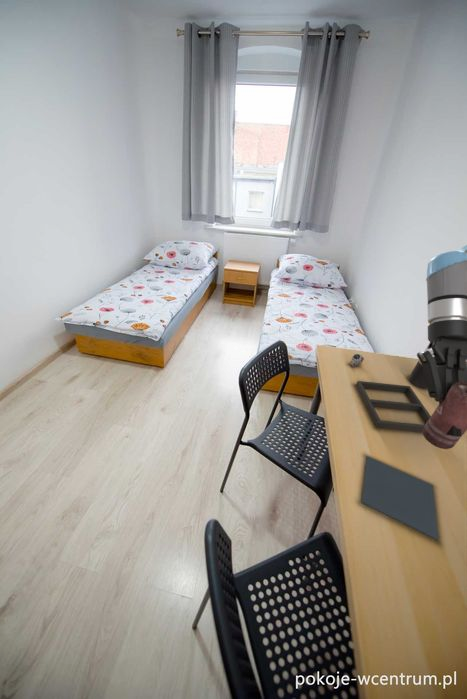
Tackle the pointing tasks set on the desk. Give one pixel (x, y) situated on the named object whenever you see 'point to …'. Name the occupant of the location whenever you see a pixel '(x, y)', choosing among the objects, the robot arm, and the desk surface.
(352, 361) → the wristwatch
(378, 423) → the frame
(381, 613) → the desk surface
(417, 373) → the travel mug
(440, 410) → the can
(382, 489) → the mat
